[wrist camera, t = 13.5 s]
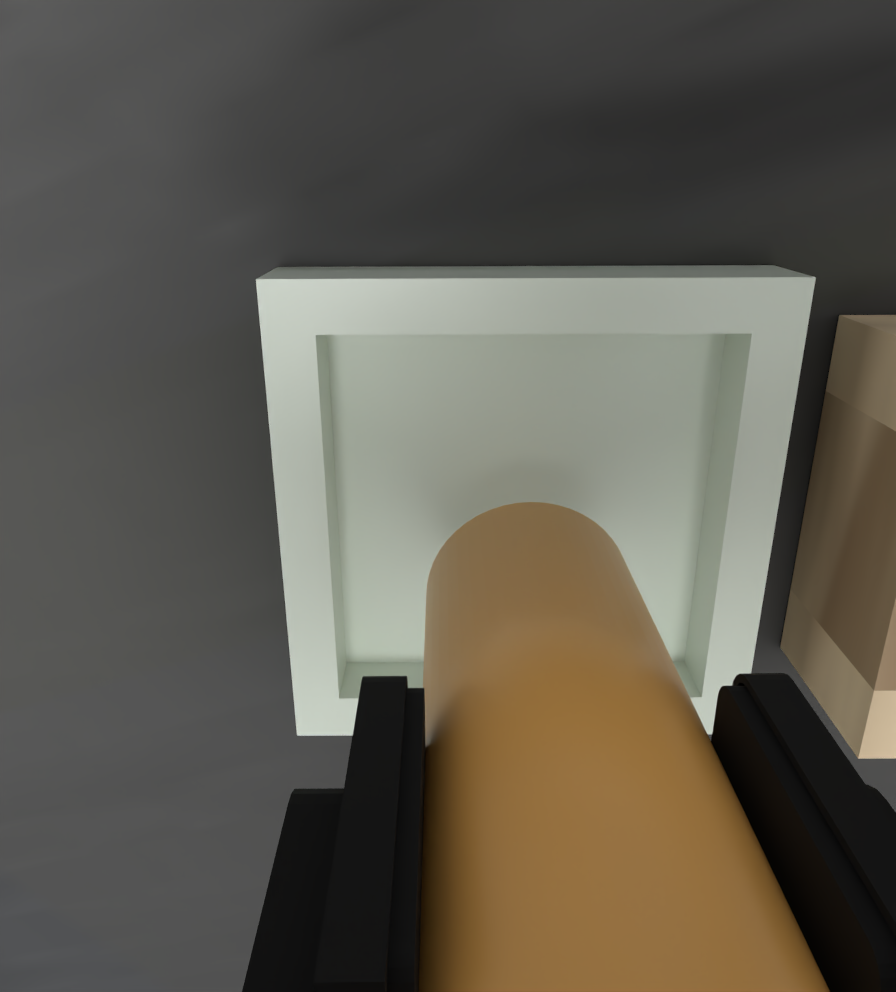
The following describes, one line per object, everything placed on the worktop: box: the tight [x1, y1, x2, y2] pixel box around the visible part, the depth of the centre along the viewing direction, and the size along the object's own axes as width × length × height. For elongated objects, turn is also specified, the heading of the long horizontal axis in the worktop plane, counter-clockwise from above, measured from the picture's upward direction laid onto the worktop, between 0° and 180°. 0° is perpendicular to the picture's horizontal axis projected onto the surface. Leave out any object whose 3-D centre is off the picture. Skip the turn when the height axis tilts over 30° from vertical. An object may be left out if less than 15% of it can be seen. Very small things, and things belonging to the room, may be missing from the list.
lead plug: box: [419, 502, 830, 992], centre depth 9 cm, size 4×4×12 cm
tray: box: [256, 265, 816, 736], centre depth 17 cm, size 10×10×2 cm
